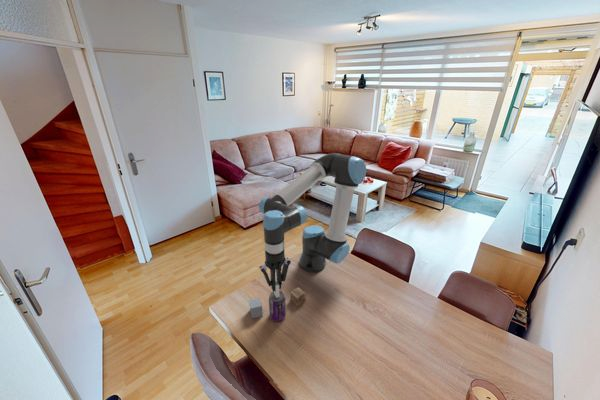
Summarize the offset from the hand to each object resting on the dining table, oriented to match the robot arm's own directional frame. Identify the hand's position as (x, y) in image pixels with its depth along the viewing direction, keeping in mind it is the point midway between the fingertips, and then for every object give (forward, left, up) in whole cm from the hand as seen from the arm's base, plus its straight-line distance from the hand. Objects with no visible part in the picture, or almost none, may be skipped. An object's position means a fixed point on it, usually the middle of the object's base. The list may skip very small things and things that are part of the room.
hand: (276, 295), depth 109 cm
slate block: (+8, -6, -12) cm, 16 cm away
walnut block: (-12, -4, -12) cm, 18 cm away
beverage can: (0, 0, -12) cm, 12 cm away
